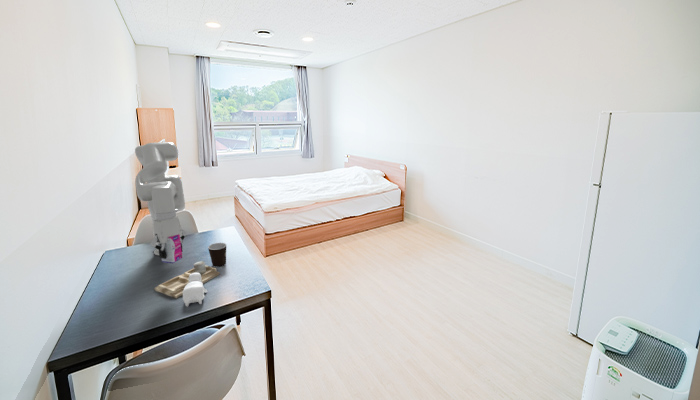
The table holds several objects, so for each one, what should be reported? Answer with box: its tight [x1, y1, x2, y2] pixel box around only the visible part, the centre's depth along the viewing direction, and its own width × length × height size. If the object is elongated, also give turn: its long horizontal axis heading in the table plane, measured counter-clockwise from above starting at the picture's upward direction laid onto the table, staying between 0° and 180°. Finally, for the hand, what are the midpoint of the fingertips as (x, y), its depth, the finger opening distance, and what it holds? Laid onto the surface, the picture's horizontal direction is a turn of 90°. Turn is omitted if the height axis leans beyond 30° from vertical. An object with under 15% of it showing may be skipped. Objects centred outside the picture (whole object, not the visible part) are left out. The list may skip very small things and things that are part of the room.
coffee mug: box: [207, 242, 227, 268], centre depth 163 cm, size 12×9×10 cm
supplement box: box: [161, 234, 183, 264], centre depth 135 cm, size 6×6×12 cm
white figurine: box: [182, 273, 208, 307], centre depth 133 cm, size 9×8×15 cm
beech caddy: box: [154, 260, 221, 299], centre depth 145 cm, size 14×23×6 cm, turn 154°
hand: (171, 254), depth 136 cm, fingers closed on supplement box, 6 cm apart
